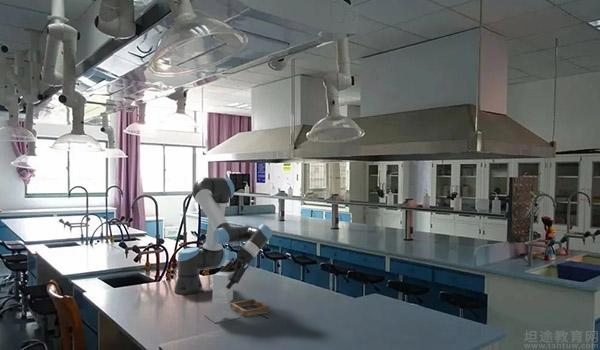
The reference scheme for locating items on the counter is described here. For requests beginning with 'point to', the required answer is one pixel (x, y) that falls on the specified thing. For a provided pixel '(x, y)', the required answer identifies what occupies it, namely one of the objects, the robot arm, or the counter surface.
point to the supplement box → (218, 284)
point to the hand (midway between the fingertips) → (216, 291)
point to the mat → (221, 316)
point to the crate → (246, 313)
